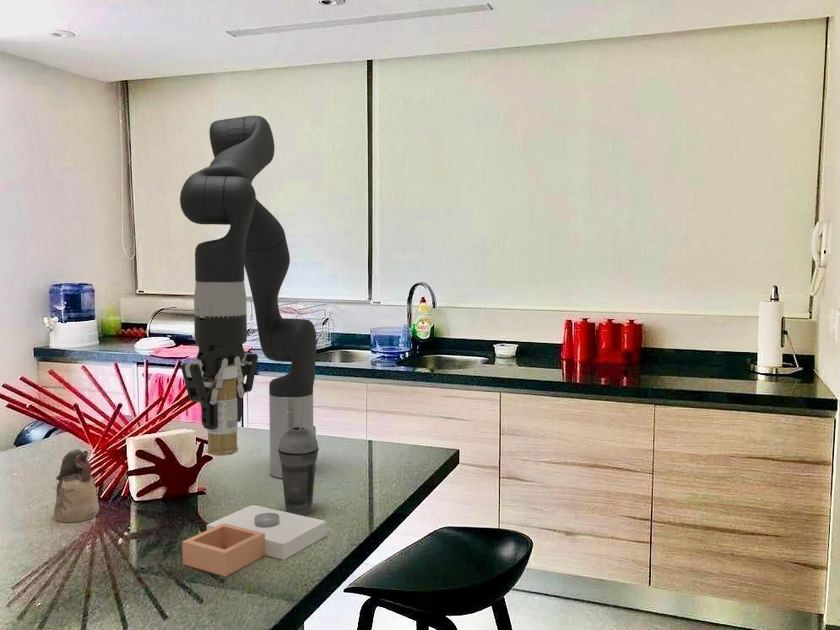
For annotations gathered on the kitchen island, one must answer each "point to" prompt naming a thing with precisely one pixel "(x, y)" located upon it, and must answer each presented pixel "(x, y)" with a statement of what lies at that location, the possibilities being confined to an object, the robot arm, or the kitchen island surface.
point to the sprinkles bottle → (225, 416)
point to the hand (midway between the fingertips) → (222, 424)
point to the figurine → (75, 489)
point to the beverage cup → (298, 468)
